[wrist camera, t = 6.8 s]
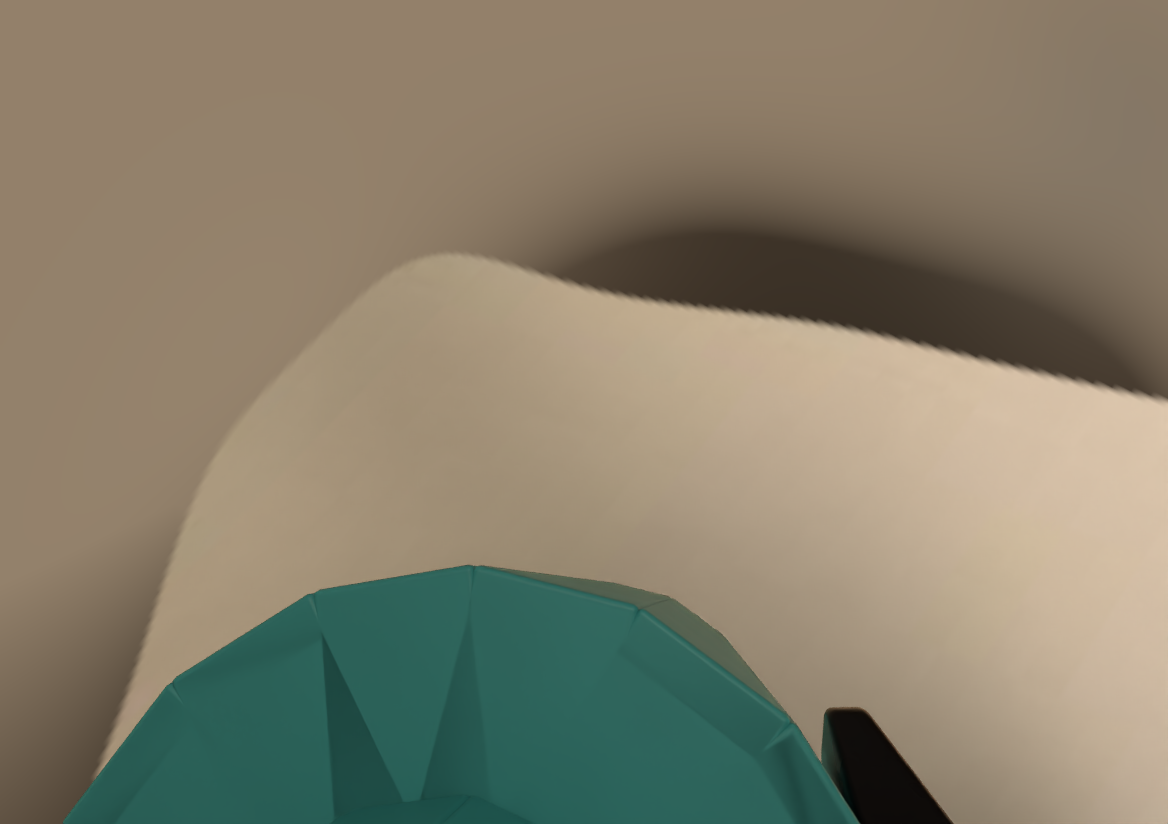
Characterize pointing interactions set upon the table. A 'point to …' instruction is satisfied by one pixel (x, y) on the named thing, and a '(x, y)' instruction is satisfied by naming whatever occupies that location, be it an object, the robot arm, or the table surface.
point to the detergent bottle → (469, 716)
